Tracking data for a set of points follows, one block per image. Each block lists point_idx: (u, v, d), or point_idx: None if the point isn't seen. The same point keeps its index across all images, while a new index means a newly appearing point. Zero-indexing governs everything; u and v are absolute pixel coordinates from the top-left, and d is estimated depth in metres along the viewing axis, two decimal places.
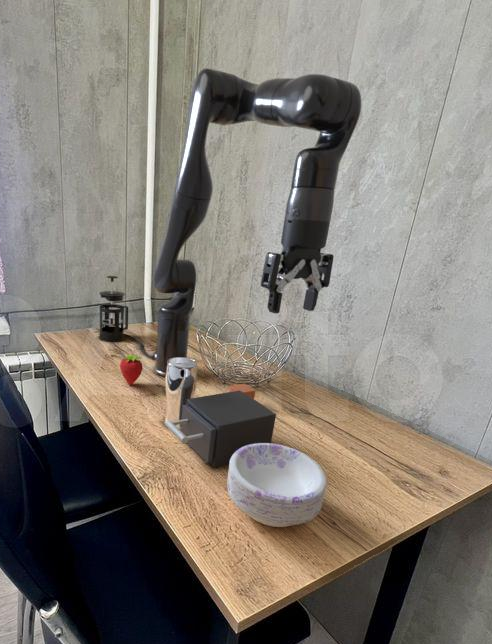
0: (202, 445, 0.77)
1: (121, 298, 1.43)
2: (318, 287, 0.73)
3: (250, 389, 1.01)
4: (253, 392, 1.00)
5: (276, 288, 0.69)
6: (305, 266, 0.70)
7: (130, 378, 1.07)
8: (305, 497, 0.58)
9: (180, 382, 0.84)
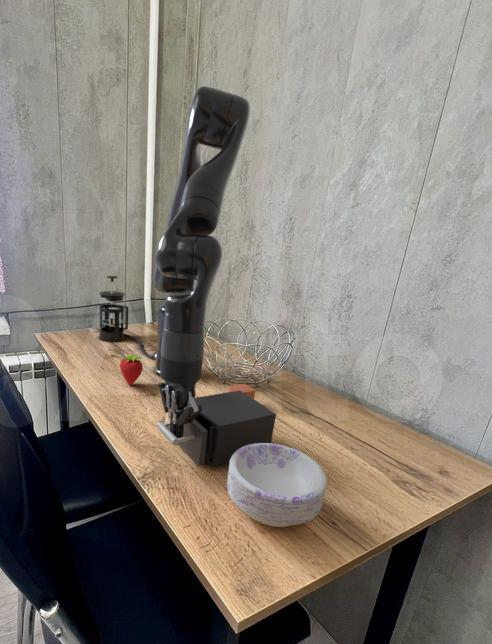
0: (193, 447, 0.76)
1: (121, 298, 1.43)
2: (173, 419, 0.74)
3: (250, 389, 1.01)
4: (253, 392, 1.00)
5: None
6: None
7: (130, 378, 1.07)
8: (305, 497, 0.58)
9: None
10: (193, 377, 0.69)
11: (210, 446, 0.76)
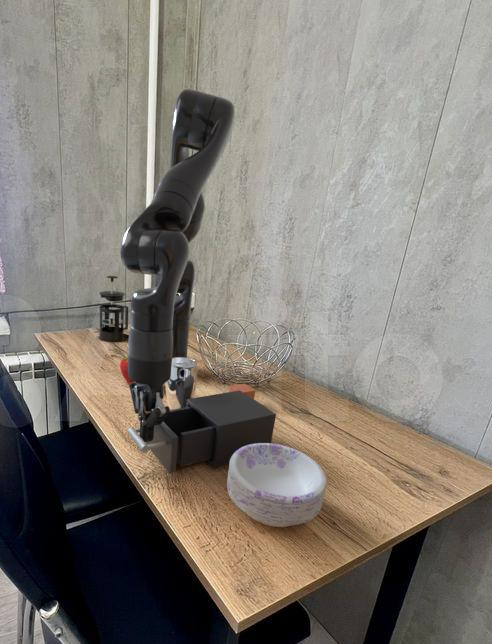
0: (165, 454, 0.73)
1: (121, 298, 1.43)
2: (142, 421, 0.72)
3: (250, 389, 1.01)
4: (253, 392, 1.00)
5: None
6: None
7: None
8: (305, 497, 0.58)
9: (180, 382, 0.84)
10: (160, 378, 0.66)
11: (182, 453, 0.73)
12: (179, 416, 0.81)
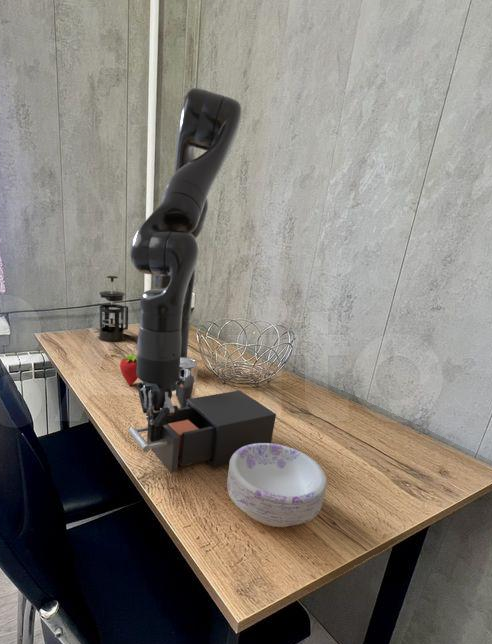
0: (166, 454, 0.73)
1: (121, 298, 1.43)
2: (150, 420, 0.72)
3: (193, 428, 0.77)
4: None
5: None
6: None
7: (130, 378, 1.07)
8: (305, 497, 0.58)
9: (180, 382, 0.84)
10: (169, 377, 0.67)
11: (183, 453, 0.73)
12: (180, 416, 0.81)
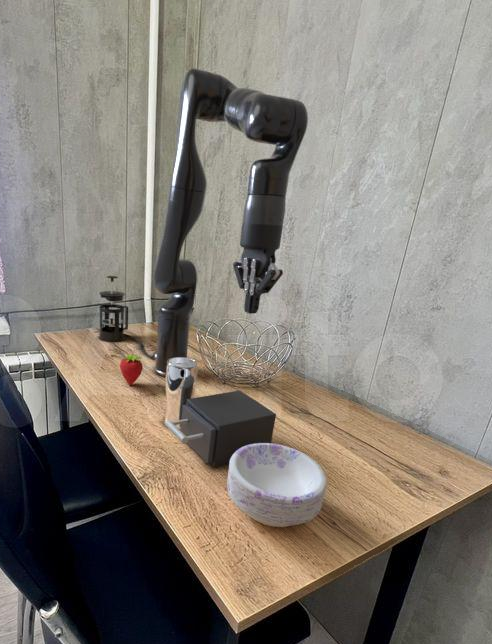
0: (202, 445, 0.77)
1: (121, 298, 1.43)
2: (250, 291, 0.79)
3: None
4: None
5: None
6: None
7: (130, 378, 1.07)
8: (305, 497, 0.58)
9: (180, 382, 0.84)
10: (274, 242, 0.73)
11: None
12: None
